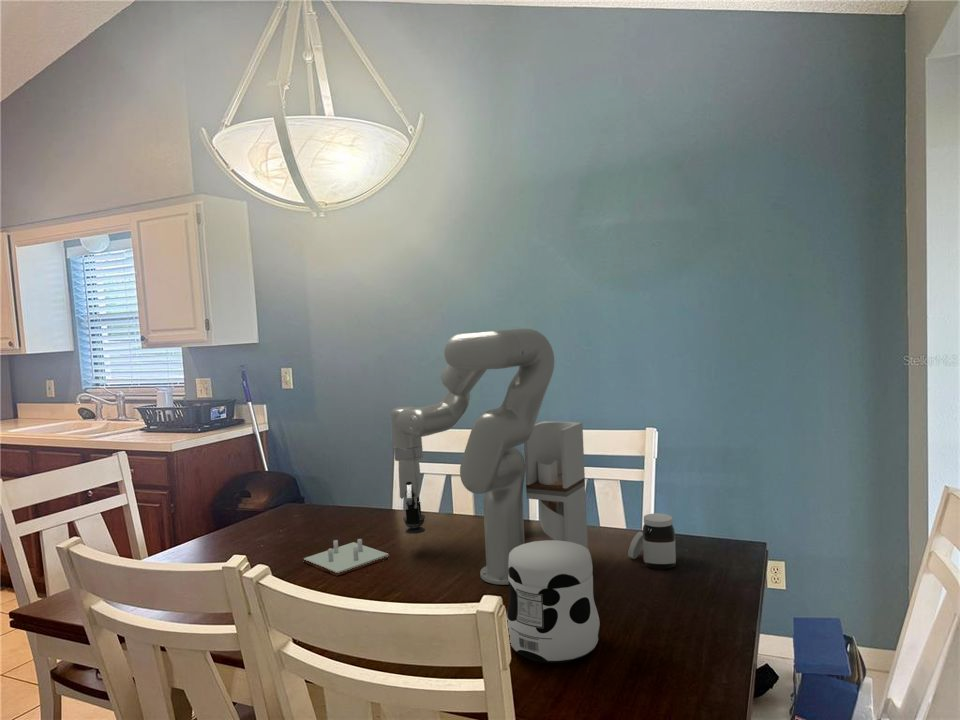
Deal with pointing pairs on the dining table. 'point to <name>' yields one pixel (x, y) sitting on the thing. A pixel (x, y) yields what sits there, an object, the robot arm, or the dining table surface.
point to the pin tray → (346, 556)
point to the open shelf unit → (558, 479)
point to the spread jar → (655, 542)
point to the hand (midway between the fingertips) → (414, 519)
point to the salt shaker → (415, 527)
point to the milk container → (552, 601)
